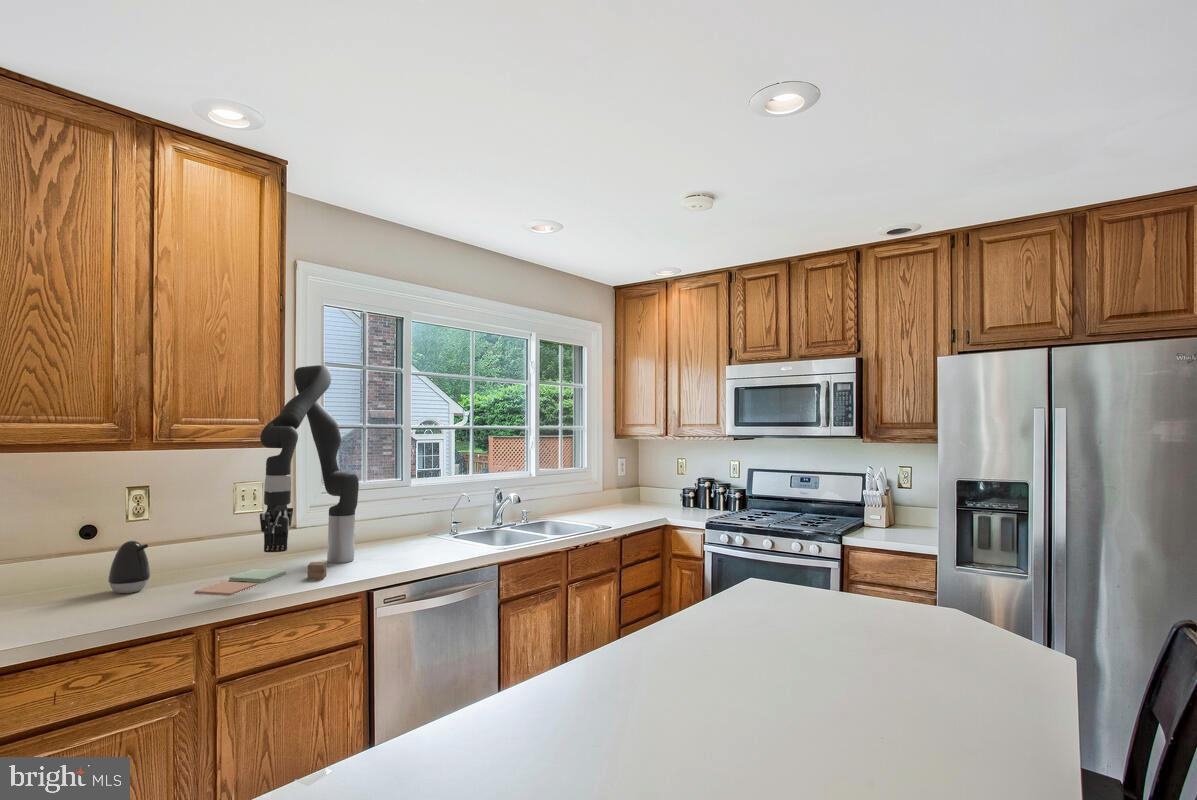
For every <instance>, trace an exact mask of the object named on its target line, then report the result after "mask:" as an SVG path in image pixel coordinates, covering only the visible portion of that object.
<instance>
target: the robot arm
mask: <svg viewBox="0 0 1197 800" xmlns="http://www.w3.org/2000/svg"><path fill="white" fill-rule="evenodd" d="M293 378H294V384H295V388H296V390H297V393H298V394H297V395H295V396H294V397H292V398H290V400H289V401H287V402H286V404H285V405H284V406H283V408H282V410H281V411H280V413H279V414H278V415H277V416H276V417H275V418H273V419H272V420H271V421H270V422H269V423H267V425H265V426H264V427H263V429H262V430H261V433H260V436H259V437H260V438H259V439H260V443H261V445H262V446H263V447H265V448H267V449H281V451H280V453H279V454H277V455H271V456H268V457H267V458H266V462H265V479H264V489H263V490H264V491H263V504H264V505H265V506H266V507H267V508H266V511H265V512H264V513H263V512H262V513H261V512H260V513H259V522H260V529H261V533H264V532H265V533H266V544H267V545H271V546H272V545H274V538H275V533H274V532H275V528H276V526H277V525H278V522H279V518H280V516H282V515H283V516H285V515H286V516H287V517H288V518H289V528H290V527H291V525H292V521H293V514H294V508H293V507H288V505H290V504H291V497H292V477H291V471H292V470H291V468H292V466H291V465H292V459H293V456H294V452H295V449H296V446H297V445H298V444H297V443H298V440H299V434H298V431H297V429H298V428H299V427H300V426H301V424H302V422H303V421H304V419H305V417H307V420H308V423H309V427H310V433H311V435H312V439H313V442H314V444H315V447H316V451H317V456H318V459H319V464H320V468H321V475H322V479H323V486H324V489H325V491H326V493H328V495H329V496H333V497H339V499H338V503H337V504H334V505H332V506H330V507H329V509H328V525H327V526H328V527H327V551H326V552H327V555H326V557H327V558H326V562H327V563H329V564H331V563H333V564H340V563H341V564H342V563H349V562H352V561H353V562H354V559H355V541H356V537H355V536H356V535H355V528H356V527H355V526H356V525H355V524H356V523H355V522H356V509H357V506H358V501H359V500H358V499H359V488H360V487H359V485H360V484H359V483H360V481H359V477H358V476H357V474H356V473H355V472H349V471H340V469H339V466H338V465H339V464H338V461H337V458H338V457H337V455H338V452H339V450H340V446H341V444H342V436H341V435H342V434H341V432H340V429H339V424H338V422H337V420H336V419H335V417H334V416H333V415H332V414H331V413H330V412H329V411H328V410H326V408H325V407H324V406H322V404H321V403H320V402H319V399H320V398H321V397H322V395H324V394H325V393H326V391H327V390H328V389H329V388H330V385H331V383H332V374H331V371H330V369H329V368H328V367H327V366H325V365H320V364H319V365H306V366H300V367H297V368H296V369H295V370H294V373H293ZM270 521H271V522H274V523H270ZM265 525H266V528H265ZM271 526H272V528H271Z"/></svg>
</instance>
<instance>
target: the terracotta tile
mask: <svg viewBox="0 0 1197 800" xmlns="http://www.w3.org/2000/svg"><path fill="white" fill-rule="evenodd" d="M256 585H257V586H258V582H239V581H224V580H223V581H220V582H216V583H214V584H212V585H208V586H205V587H202V588H200V589H197V590H194V594H200V593H208V594H207V595H217V594H222V595H221V596H233V595H236V594H238V592H239V593H241V592H243V590H244V591H246V590H249V589H251V588H250V587H252V588H253V586H254V587H257V586H256ZM248 588H249V589H248ZM245 589H246V590H245ZM240 591H241V592H240ZM235 593H236V594H235Z"/></svg>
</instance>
